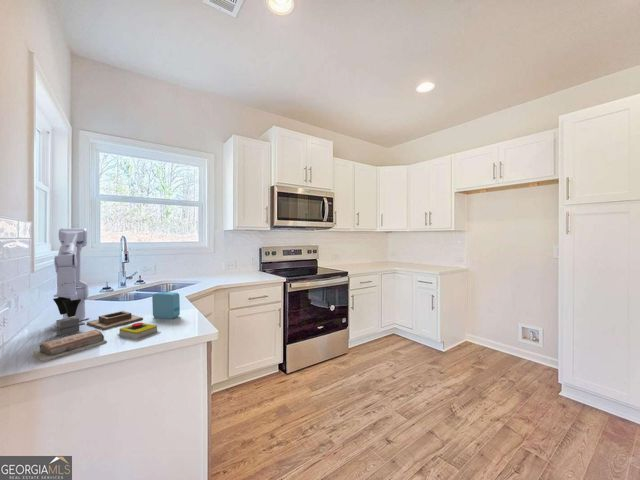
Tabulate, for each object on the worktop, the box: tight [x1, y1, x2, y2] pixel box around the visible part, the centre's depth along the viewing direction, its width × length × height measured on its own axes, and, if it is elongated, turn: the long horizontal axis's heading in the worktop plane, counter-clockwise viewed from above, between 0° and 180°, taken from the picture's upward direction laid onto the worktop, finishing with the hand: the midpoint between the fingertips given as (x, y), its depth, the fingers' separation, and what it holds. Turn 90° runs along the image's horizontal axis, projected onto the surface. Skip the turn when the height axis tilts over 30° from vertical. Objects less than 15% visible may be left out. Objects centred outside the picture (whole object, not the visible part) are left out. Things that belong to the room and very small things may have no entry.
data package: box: [151, 291, 181, 320], centre depth 137 cm, size 12×4×12 cm, turn 77°
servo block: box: [49, 316, 86, 337], centre depth 116 cm, size 4×10×7 cm, turn 150°
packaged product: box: [32, 329, 108, 363], centre depth 100 cm, size 18×5×10 cm
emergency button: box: [116, 322, 162, 341], centre depth 115 cm, size 9×4×15 cm
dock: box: [86, 310, 144, 331], centre depth 130 cm, size 16×16×3 cm
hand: (67, 315), depth 116 cm, fingers open, 7 cm apart
